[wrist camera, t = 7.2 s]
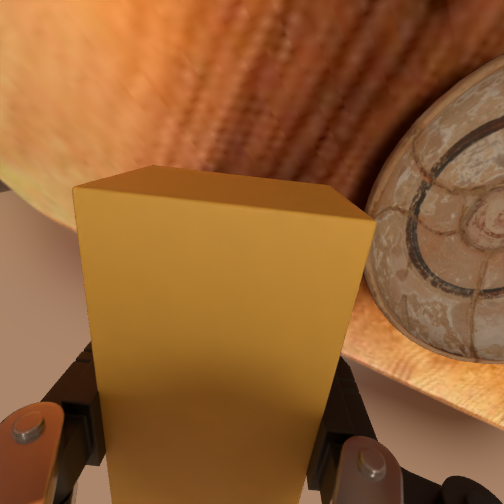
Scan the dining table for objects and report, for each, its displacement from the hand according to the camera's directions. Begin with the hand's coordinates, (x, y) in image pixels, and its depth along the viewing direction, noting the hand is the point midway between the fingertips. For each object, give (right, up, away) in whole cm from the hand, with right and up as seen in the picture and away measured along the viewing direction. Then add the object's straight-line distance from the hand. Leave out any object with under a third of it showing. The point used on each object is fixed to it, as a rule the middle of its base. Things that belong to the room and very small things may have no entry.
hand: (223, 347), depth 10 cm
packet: (0, 0, +1) cm, 1 cm away
